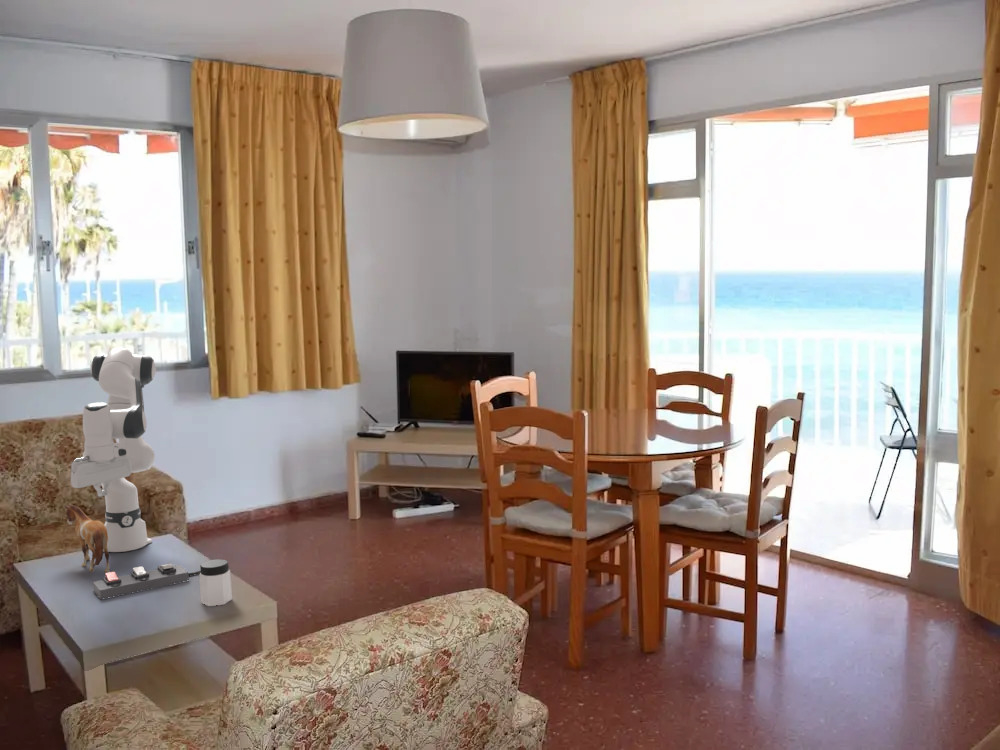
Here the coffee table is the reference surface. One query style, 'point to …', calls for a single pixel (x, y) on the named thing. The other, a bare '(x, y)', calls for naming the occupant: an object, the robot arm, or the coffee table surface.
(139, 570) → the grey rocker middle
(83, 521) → the horse figurine
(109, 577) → the red rocker
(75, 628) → the coffee table surface
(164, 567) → the grey rocker end
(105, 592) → the grey switch panel
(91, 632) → the coffee table surface
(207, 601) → the jar
